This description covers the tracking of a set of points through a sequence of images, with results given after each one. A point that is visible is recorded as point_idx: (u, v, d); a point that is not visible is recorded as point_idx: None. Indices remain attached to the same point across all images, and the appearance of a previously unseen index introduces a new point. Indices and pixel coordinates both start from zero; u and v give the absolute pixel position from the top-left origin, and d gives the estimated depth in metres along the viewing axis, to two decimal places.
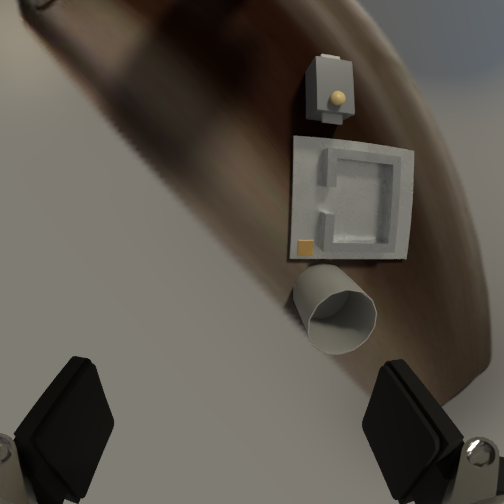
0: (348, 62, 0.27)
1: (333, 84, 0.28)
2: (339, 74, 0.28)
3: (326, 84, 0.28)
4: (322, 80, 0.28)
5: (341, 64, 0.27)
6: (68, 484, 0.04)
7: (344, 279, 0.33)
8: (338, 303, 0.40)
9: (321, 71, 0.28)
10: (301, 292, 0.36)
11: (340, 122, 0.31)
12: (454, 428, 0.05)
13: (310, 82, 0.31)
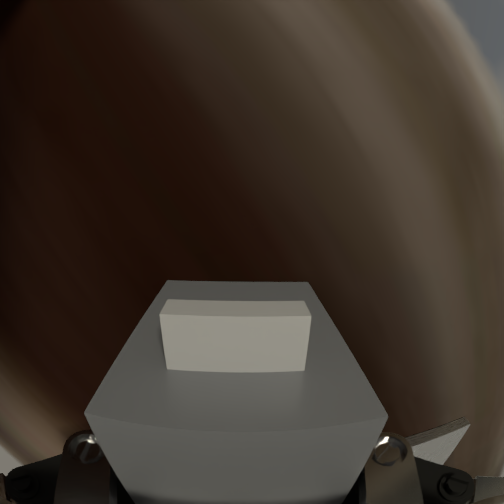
0: (357, 429, 0.03)
1: None
2: (265, 496, 0.04)
3: None
4: None
5: (293, 456, 0.04)
6: None
7: None
8: None
9: (149, 487, 0.04)
10: None
11: None
12: None
13: None
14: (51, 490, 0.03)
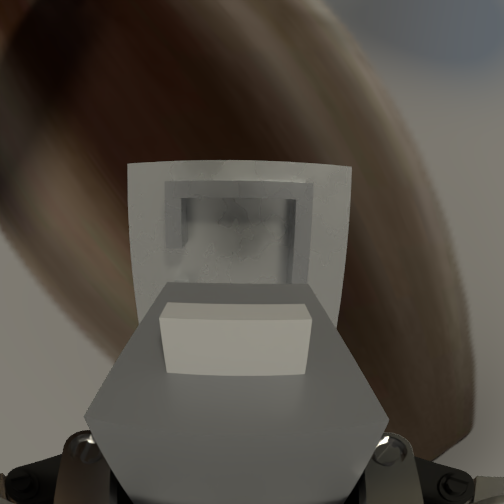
0: (358, 433, 0.03)
1: None
2: (266, 499, 0.04)
3: None
4: None
5: (293, 459, 0.03)
6: None
7: None
8: None
9: (149, 490, 0.04)
10: None
11: None
12: None
13: None
14: (51, 490, 0.03)
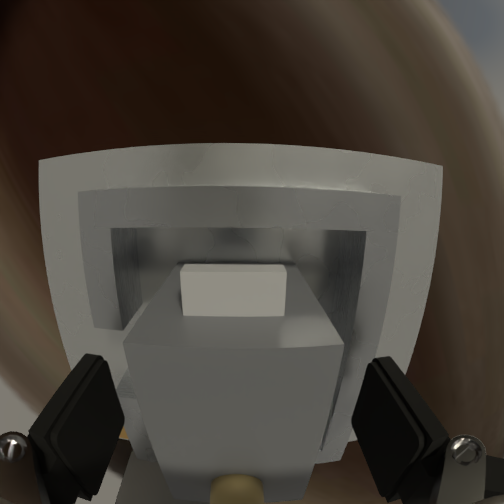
0: (321, 353, 0.06)
1: (225, 454, 0.06)
2: (257, 421, 0.06)
3: (194, 455, 0.06)
4: (174, 445, 0.06)
5: (275, 374, 0.06)
6: (82, 481, 0.05)
7: None
8: None
9: (164, 417, 0.06)
10: None
11: None
12: (439, 425, 0.05)
13: None
14: None
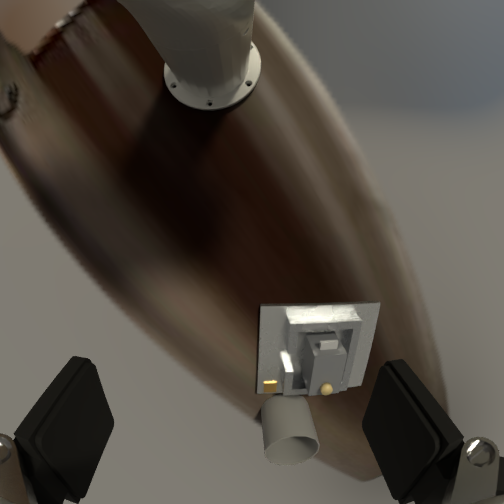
0: (344, 355, 0.35)
1: (325, 376, 0.36)
2: (332, 367, 0.35)
3: (319, 377, 0.36)
4: (316, 375, 0.36)
5: (336, 358, 0.35)
6: (68, 484, 0.04)
7: (297, 419, 0.38)
8: None
9: (317, 368, 0.35)
10: (264, 419, 0.41)
11: None
12: (454, 428, 0.05)
13: (307, 359, 0.38)
14: None
